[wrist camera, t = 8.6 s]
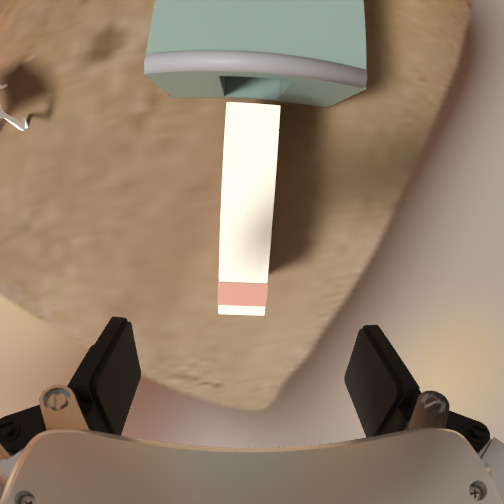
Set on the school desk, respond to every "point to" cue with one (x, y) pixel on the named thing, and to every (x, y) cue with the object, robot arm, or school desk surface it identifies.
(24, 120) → the white scroll-footed stand
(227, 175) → the pink-banded cream bar
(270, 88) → the block
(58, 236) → the school desk surface
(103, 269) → the school desk surface
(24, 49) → the school desk surface
